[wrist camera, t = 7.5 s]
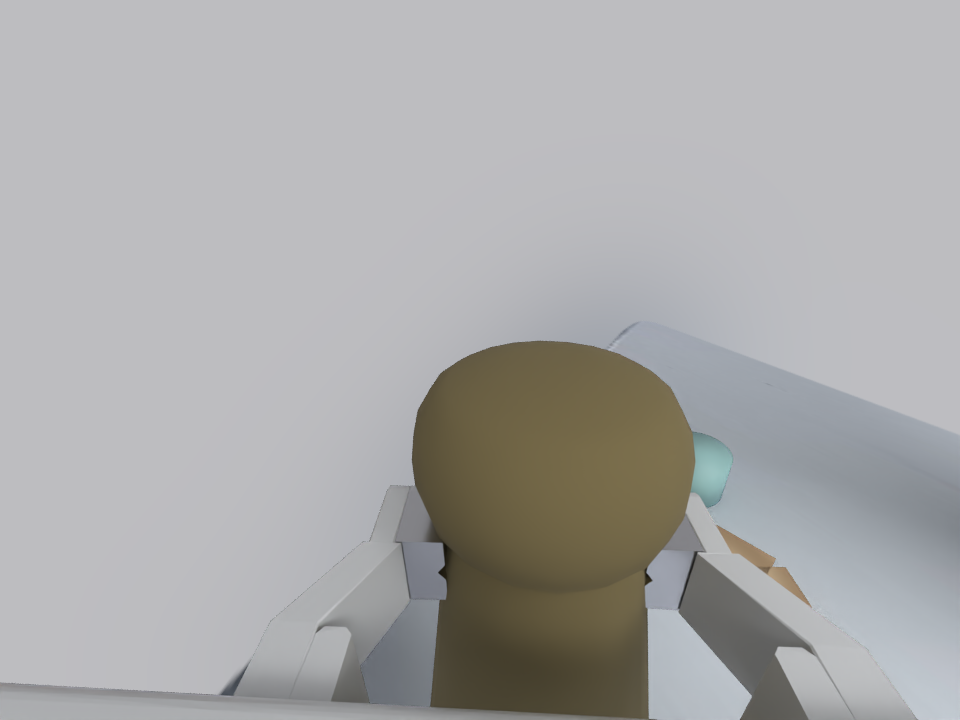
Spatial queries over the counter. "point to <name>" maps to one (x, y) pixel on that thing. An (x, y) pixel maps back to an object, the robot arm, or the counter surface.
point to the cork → (549, 524)
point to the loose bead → (710, 468)
